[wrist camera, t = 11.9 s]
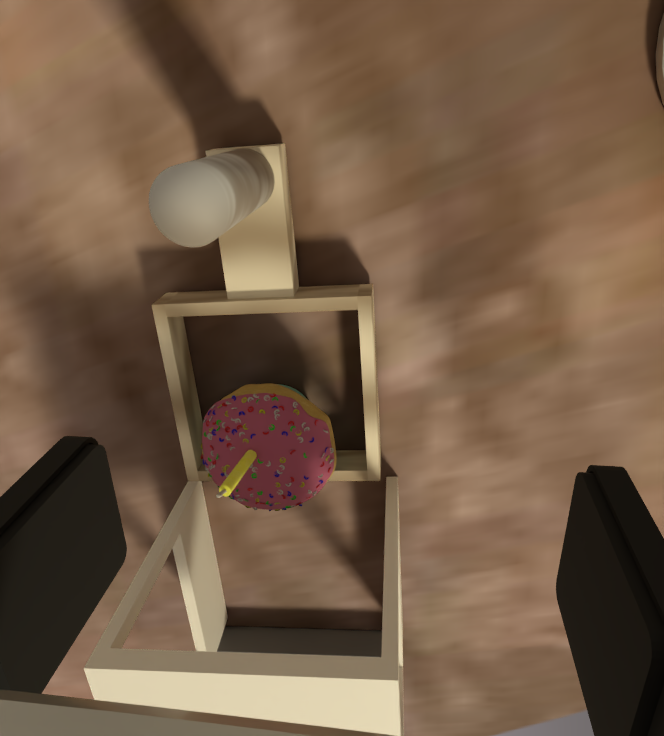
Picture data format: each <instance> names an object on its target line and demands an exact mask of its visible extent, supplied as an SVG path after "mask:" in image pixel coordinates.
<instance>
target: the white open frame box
mask: <svg viewBox="0 0 664 736" xmlns="http://www.w3.org/2000/svg"><path fill="white" fill-rule="evenodd" d="M172 549H173V553H174V557H175V562H176V566H177V570H178V575H179V579H180V583H181V588H182V592H183V596H184V601H185V605H186V609H187V613H188V618H189V622H190V626H191V631H192V635H193V639H194V644H195V648H196V651H177V650H148V649H121V648H122V647H123V645H124V643H125V641H126V639H127V637H128V635H129V633H130V631H131V629H132V627H133V625H134V623H135V621H136V619H137V617H138V615H139V613H140V611H141V609H142V607H143V605H144V603H145V601H146V599H147V597H148V595H149V593H150V591H151V589H152V587H153V586H154V584H155V582H156V580H157V578H158V576H159V574H160V572H161V570H162V568H163V566H164V564H165V562H166V560H167V558H168V556H169V554H170V552H171V550H172ZM227 619H228V615H227V610H226V605H225V600H224V594H223V589H222V584H221V579H220V574H219V569H218V564H217V559H216V553H215V548H214V543H213V538H212V533H211V528H210V523H209V518H208V512H207V507H206V502H205V497H204V492H203V487H202V482H201V481H188V482H187V484H186V486H185V488H184V489H183V491H182V493H181V495H180V497H179V498H178V500H177V502H176V504H175V506H174V507H173V509H172V511H171V513H170V514H169V516H168V518H167V520H166V522H165V523H164V525H163V527H162V529H161V531H160V532H159V534H158V536H157V538H156V540H155V541H154V543H153V545H152V547H151V549H150V550H149V552H148V554H147V556H146V558H145V559H144V561H143V563H142V565H141V566H140V568H139V570H138V572H137V574H136V575H135V577H134V579H133V581H132V583H131V584H130V586H129V588H128V590H127V592H126V593H125V595H124V597H123V599H122V601H121V602H120V604H119V606H118V608H117V610H116V611H115V613H114V615H113V617H112V618H111V620H110V622H109V624H108V626H107V627H106V629H105V631H104V633H103V635H102V636H101V638H100V640H99V642H98V644H97V645H96V647H95V649H94V651H93V653H92V654H91V656H90V658H89V660H88V662H87V663H86V665H85V667H84V671H85V674H86V676H87V679H88V682H89V685H90V688H91V691H92V694H93V697H94V700H100V701H109V702H118V703H127V704H136V705H145V706H154V707H162V708H171V709H179V710H188V711H196V712H205V713H214V714H222V715H231V716H239V717H247V718H256V719H264V720H273V721H281V722H289V723H298V724H306V725H314V726H323V727H331V728H339V729H347V730H355V731H363V732H371V733H379V734H387V735H395V736H404V707H403V622H402V592H401V562H400V532H399V502H398V477H386V508H385V544H384V580H383V617H382V653H381V657H352V656H323V655H294V654H265V653H236V652H217V649H218V646H219V643H220V640H221V637H222V634H223V631H224V628H225V625H226V622H227Z"/></svg>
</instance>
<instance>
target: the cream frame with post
mask: <svg viewBox="0 0 664 736" xmlns="http://www.w3.org/2000/svg"><path fill="white" fill-rule="evenodd" d="M205 152H206V157H205V158H201V159H197V160H193V161H189V162H185V163H182V164H178V165H174V166H171V167H169V168H167V169H165V170H164V171H162V172H161V173H160V174H159V175H158V176H157V177H156V179H155V180H154V182H153V184H152V186H151V189H150V193H149V208H150V213H151V216H152V219H153V221H154V223H155V225H156V226H157V228H158V229H159V230H160V232H161V233H162V234H163V235H164V236H165V237H167V238H168V239H169V240H171V241H172V242H174V243H176V244H179V245H181V246H185V247H201V246H205V245H207V244H209V243H211V242H213V241H214V240H215V239H217V238H219V244H220V251H221V258H222V264H223V271H224V278H225V284H226V290H218V291H195V292H172V293H166V294H164V295H163V296H162V297H161V298H159V299H158V300H157V301H156V302H154V303H153V304H152V310H153V315H154V319H155V324H156V329H157V334H158V339H159V344H160V348H161V353H162V358H163V363H164V368H165V373H166V378H167V382H168V387H169V392H170V397H171V402H172V407H173V411H174V416H175V421H176V426H177V431H178V436H179V441H180V445H181V450H182V455H183V460H184V465H185V470H186V475H187V479H188V481H213V479H212V478H211V477H210V476H209V477H208V472H207V470H205V465H204V464H203V459H201V455H202V449H201V443H202V432H203V421H202V416H201V410H200V405H199V400H198V394H197V389H196V383H195V378H194V373H193V367H192V362H191V356H190V351H189V346H188V340H187V335H186V329H185V324H184V318H183V316H209V315H235V314H261V313H287V312H313V311H339V310H358V317H359V335H360V352H361V369H362V387H363V404H364V421H365V438H366V450H336V467H335V470H334V472H333V474H332V476H331V477H330V478H329V480H328V481H380V473H381V447H380V426H379V404H378V383H377V361H376V339H375V318H374V296H373V284H355V285H333V286H310V287H299V280H298V270H297V260H296V250H295V240H294V230H293V219H292V209H291V199H290V189H289V179H288V169H287V159H286V149H285V143H284V144H270V145H257V146H243V147H230V148H216V149H212V150H207V151H205Z"/></svg>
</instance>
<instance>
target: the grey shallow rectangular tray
mask: <svg viewBox="0 0 664 736" xmlns="http://www.w3.org/2000/svg"><path fill="white" fill-rule="evenodd" d="M217 652H236V653H265V654H294V655H323V656H352V657H381V653H382V631H376V630H341V629H307V628H272V627H237V626H225V628H224V631H223V634H222V637H221V640H220V643H219V646H218V649H217Z"/></svg>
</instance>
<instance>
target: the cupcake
mask: <svg viewBox="0 0 664 736" xmlns="http://www.w3.org/2000/svg"><path fill="white" fill-rule="evenodd" d="M201 449H202V455H201V459H203V464H204V465H205V470H207V472H208V477H209V476H210V477H211V478H212V479H213V481H214V482H215V483H216V484H217V485H218V487H219V494H217V495H216V497H217V498H220V497H221V496H222V495H223V496H229V497H230V498H231V499H235V500H236V501H238V502H239V503H241V504H243V505H245V506H246V507H247V506H248V507H247V508H251V507H252V508H253V509H255V508H256V509H255V510H257V508H259V509H269V511H271V510H275V511H278V510H280V509H282V510H286V508H291V507H294V506H296V505H299V506H302V505H301V503H303V502H305V501H307V500H309V499H310V498H312V497H313V496H315V495H316V494H317V493H318V492H319V491H320V490H321V489H322V488H323V486H324V485H325V483H326V482H327V481H328V480H329V478H330V477H331V476H332V474H333V472H334V470H335V467H336V448H335V440H334V435H333V430H332V425H331V421H330V419H329V417H328V416H327V415H326V414H325V413H324V412H323V411H321V410H320V409H319V408H317V407H316V406H315V405H314V404H313V403H311V402H310V401H309V400H307V398H306V397H305V396H304V395H303V394H302V393H300V392H299V391H298V390H296V389H294V388H292V387H290V386H287V385H282V384H272V383H266V384H248V385H244V386H242V387H240V388H239V389H237V390H235V391H234V392H232V393H231V394H229V395H228V396H225V397H224V398H222V399H221V400H220V401H218V402H216V403H215V404H214V405H213V406H212V407H211V408H210V409H209V410H208V412H207V414H206V415H205V417H204V421H203V432H202V443H201Z"/></svg>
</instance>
